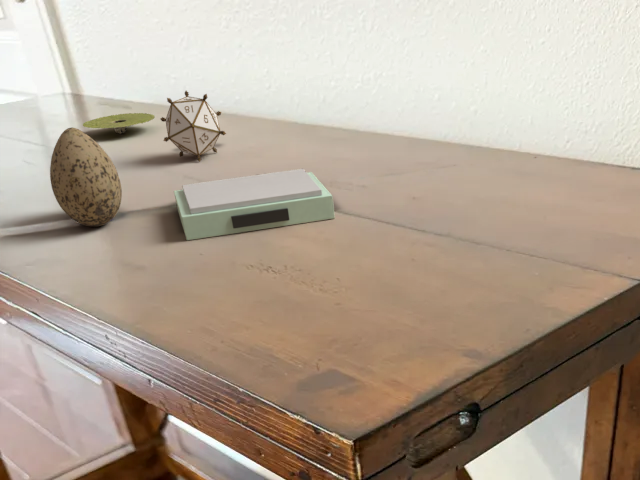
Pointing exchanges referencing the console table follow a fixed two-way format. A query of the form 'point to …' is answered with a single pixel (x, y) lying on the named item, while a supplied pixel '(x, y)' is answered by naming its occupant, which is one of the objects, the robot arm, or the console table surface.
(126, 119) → the olive green flat disc
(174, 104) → the game die
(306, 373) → the console table surface
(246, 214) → the kitchen scale
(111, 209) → the decorative egg
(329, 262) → the console table surface
